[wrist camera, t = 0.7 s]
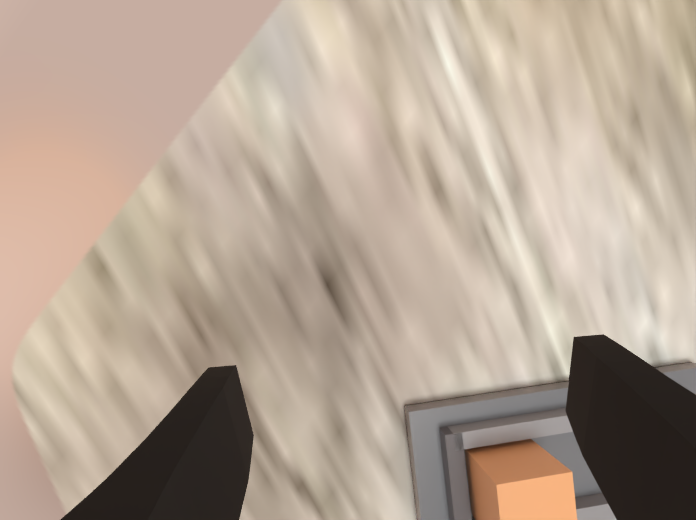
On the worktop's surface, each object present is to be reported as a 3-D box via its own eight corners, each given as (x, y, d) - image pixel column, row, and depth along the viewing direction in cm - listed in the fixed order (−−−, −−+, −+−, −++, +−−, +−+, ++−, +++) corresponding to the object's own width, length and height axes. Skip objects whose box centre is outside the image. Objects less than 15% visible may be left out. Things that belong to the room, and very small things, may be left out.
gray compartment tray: (711, 586, 34) (743, 612, 32) (431, 643, 32) (442, 675, 30) (690, 362, 34) (721, 370, 31) (404, 405, 32) (413, 418, 29)
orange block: (536, 502, 31) (580, 549, 26) (471, 514, 31) (504, 563, 26) (529, 437, 31) (572, 471, 26) (464, 447, 31) (496, 484, 26)
